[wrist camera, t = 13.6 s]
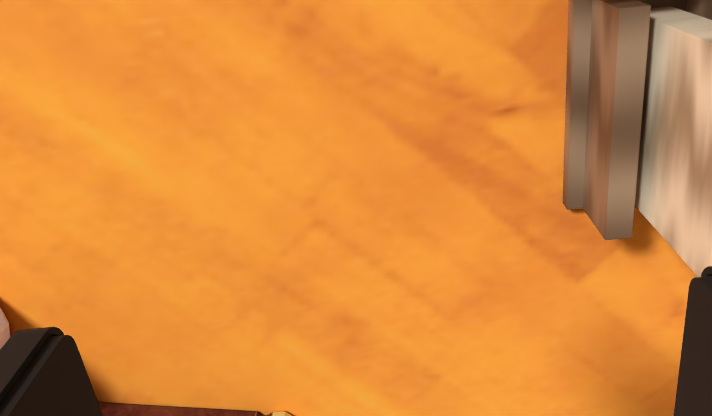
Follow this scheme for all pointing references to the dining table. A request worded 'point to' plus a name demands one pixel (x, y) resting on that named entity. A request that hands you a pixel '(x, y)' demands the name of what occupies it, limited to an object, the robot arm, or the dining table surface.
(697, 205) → the birch sheet
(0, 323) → the soap bottle
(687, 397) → the robot arm
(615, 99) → the stand
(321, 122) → the dining table surface
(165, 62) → the dining table surface
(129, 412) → the decorative book
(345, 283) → the dining table surface
